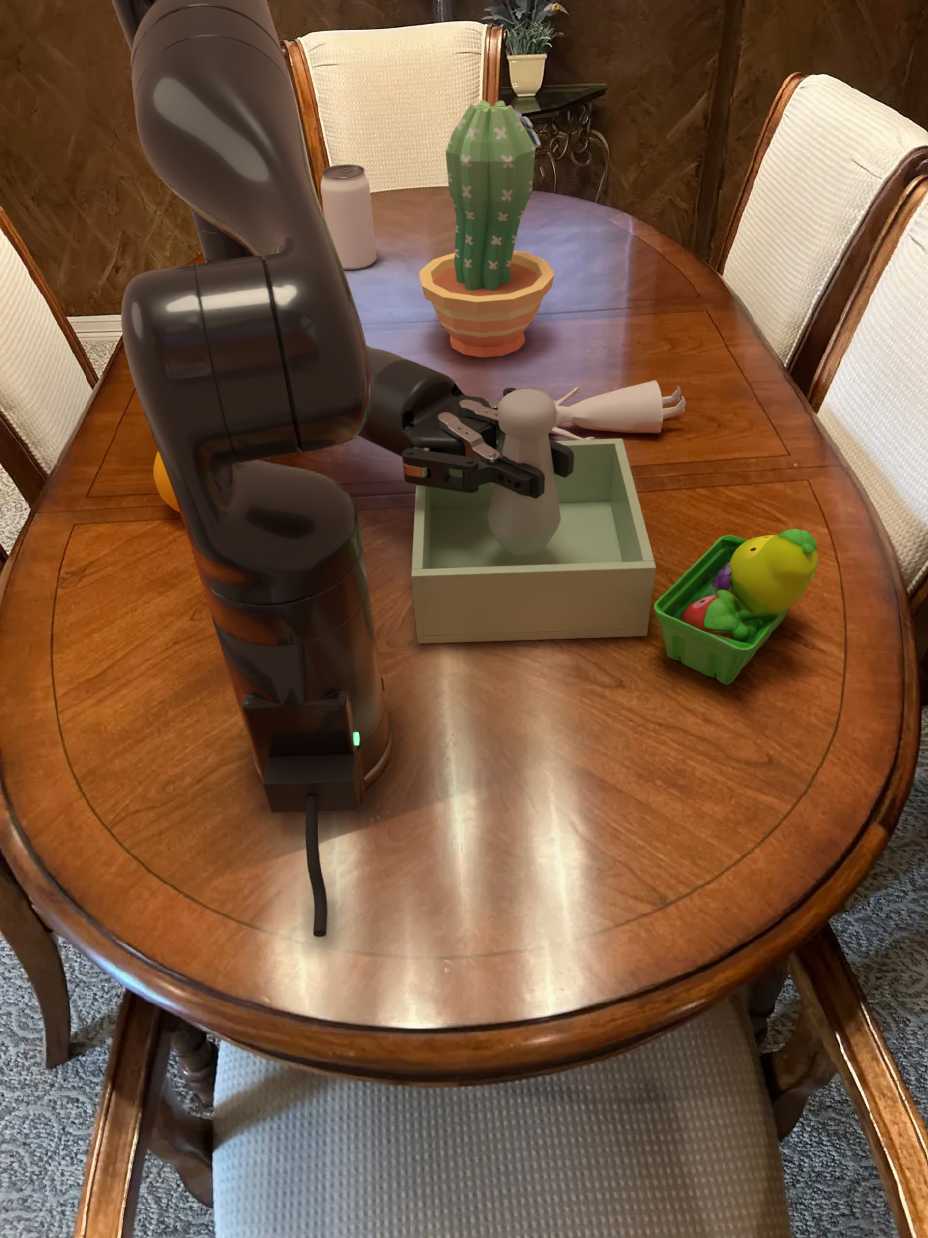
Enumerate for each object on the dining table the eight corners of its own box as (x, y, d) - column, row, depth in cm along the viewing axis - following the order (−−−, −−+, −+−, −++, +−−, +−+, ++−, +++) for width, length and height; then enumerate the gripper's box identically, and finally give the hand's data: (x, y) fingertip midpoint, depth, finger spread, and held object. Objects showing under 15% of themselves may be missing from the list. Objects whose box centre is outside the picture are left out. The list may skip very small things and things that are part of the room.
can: (323, 269, 127) (310, 176, 119) (341, 251, 131) (330, 161, 123) (366, 272, 125) (356, 179, 117) (383, 255, 130) (374, 164, 122)
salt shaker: (524, 572, 72) (527, 428, 63) (473, 540, 75) (470, 399, 66) (573, 539, 75) (583, 397, 66) (523, 510, 78) (526, 370, 69)
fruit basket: (715, 580, 75) (738, 462, 67) (819, 625, 70) (857, 504, 63) (642, 659, 68) (658, 538, 61) (752, 713, 64) (784, 590, 56)
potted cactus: (575, 353, 105) (587, 111, 88) (450, 381, 101) (437, 134, 84) (519, 303, 116) (521, 79, 99) (404, 326, 112) (385, 97, 95)
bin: (647, 636, 70) (656, 567, 65) (417, 643, 70) (411, 575, 66) (616, 503, 83) (622, 438, 78) (423, 510, 83) (418, 445, 79)
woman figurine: (697, 411, 85) (506, 433, 86) (694, 452, 88) (509, 473, 89) (671, 354, 94) (497, 375, 95) (669, 393, 97) (500, 413, 98)
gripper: (325, 395, 71) (496, 474, 62) (447, 330, 78) (614, 393, 70) (337, 476, 76) (496, 560, 67) (450, 408, 83) (607, 476, 75)
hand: (555, 475), depth 68 cm, fingers closed on salt shaker, 3 cm apart
